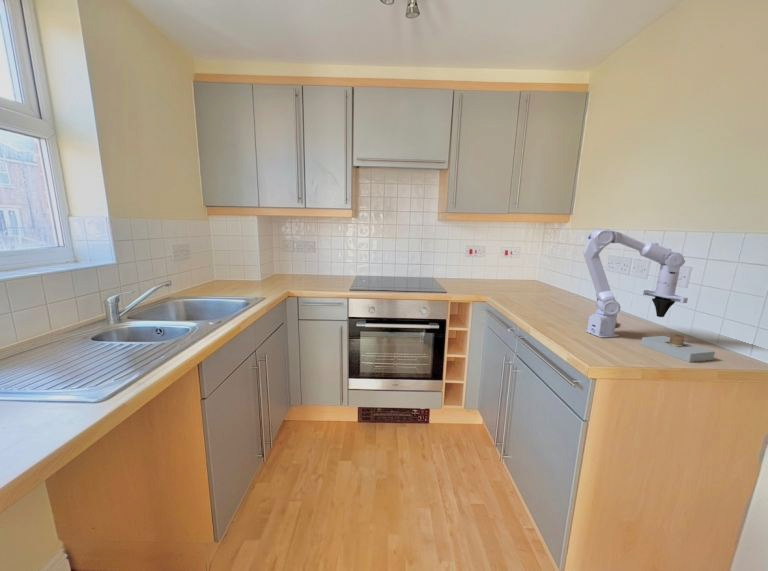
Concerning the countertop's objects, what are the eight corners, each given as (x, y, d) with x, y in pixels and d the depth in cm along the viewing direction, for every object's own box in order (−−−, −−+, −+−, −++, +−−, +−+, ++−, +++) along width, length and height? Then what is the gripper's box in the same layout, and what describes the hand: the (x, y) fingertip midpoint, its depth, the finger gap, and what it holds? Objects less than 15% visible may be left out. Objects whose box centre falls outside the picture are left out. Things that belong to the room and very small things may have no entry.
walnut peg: (684, 353, 113) (687, 337, 112) (675, 354, 112) (678, 338, 111) (673, 349, 116) (676, 334, 115) (665, 350, 116) (667, 334, 114)
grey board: (689, 362, 105) (690, 353, 105) (640, 344, 120) (642, 337, 120) (713, 359, 108) (715, 351, 107) (662, 343, 123) (664, 335, 122)
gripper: (696, 286, 116) (689, 321, 118) (655, 279, 130) (649, 311, 132) (682, 286, 114) (674, 322, 117) (641, 279, 128) (636, 312, 130)
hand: (660, 316), depth 124 cm, fingers closed
